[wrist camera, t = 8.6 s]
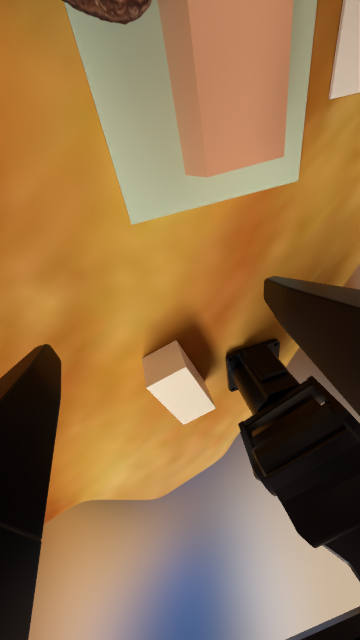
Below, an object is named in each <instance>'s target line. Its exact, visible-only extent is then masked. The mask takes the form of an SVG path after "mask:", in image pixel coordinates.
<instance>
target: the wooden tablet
mask: <svg viewBox="0 0 360 640" xmlns="http://www.w3.org/2000/svg"><path fill="white" fill-rule="evenodd" d="M62 1H64V2H66V3H68V4H69V5H70V6H71V7H72V8H74V9H76V10H78V11H80V12H83V13H85V14H87V15H90V16H93V17H95V18H99V19H100V20H102V21H107V22H110V23H119V24H124V25H126V24H128V23H129V22H133V21H135V20H137V19H138V18H140V17H141V16H142V15H143V14H144V12H145V11H146V10H147V9H148V8H149V7H150V4H151V1H152V0H62Z"/></svg>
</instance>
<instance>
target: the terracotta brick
mask: <svg viewBox="0 0 360 640" xmlns="http://www.w3.org/2000/svg"><path fill="white" fill-rule="evenodd" d="M157 1H158V7H159V13H160V19H161V26H162V32H163V38H164V44H165V51H166V57H167V63H168V69H169V75H170V82H171V88H172V94H173V100H174V107H175V113H176V119H177V125H178V131H179V138H180V144H181V150H182V156H183V163H184V169H185V175H189V176H198V177H211V176H215V175H218V174H222V173H226V172H229V171H233V170H237V169H241V168H244V167H248V166H252V165H255V164H259V163H263V162H266V161H270V160H274V159H278V158H281V157H284V149H285V133H286V116H287V99H288V83H289V66H290V49H291V33H292V16H293V0H157Z"/></svg>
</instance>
